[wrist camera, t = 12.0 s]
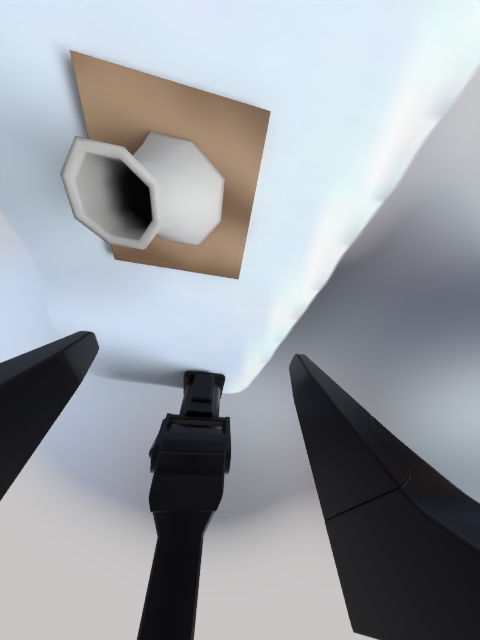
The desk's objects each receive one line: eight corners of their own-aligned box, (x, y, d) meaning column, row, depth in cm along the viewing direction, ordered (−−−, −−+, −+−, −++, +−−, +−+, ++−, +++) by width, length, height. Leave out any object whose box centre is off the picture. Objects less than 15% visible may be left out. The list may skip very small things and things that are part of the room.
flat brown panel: (237, 272, 20) (238, 279, 19) (124, 253, 19) (114, 259, 17) (265, 121, 13) (270, 111, 12) (92, 70, 12) (69, 49, 10)
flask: (141, 104, 11) (-77, -115, 3) (240, 173, 14) (255, 143, 6) (125, 218, 15) (0, 248, 7) (205, 258, 17) (183, 316, 9)
